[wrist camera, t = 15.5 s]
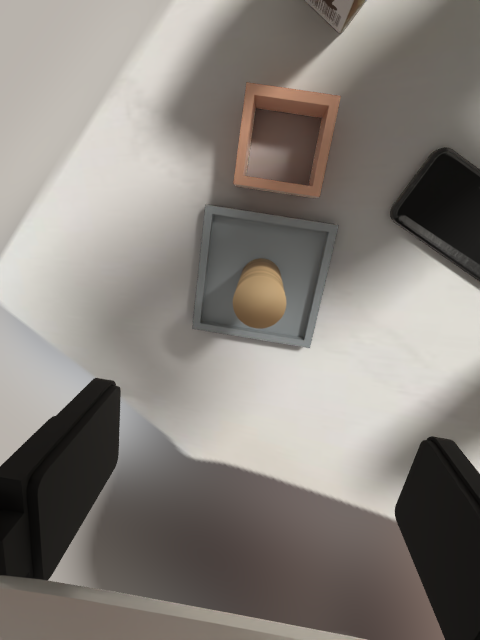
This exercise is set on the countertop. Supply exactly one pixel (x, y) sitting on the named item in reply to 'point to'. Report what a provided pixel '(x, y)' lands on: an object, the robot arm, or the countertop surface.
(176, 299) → the countertop surface
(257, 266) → the pin
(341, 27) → the coffee box
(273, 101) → the pink hollow square box
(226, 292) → the tray
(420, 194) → the phone
